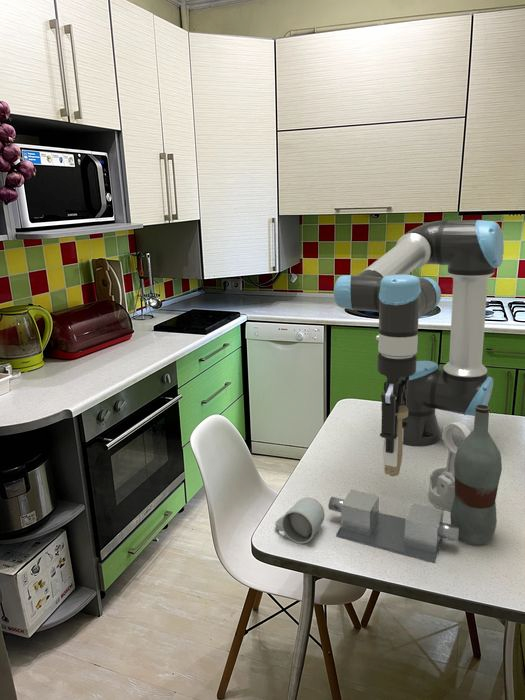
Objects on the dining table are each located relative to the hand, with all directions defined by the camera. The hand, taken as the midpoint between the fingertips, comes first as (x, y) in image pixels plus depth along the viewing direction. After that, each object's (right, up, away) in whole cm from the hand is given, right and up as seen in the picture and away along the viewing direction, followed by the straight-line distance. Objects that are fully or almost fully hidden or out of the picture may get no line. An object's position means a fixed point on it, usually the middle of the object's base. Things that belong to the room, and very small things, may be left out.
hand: (392, 459), depth 112 cm
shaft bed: (+1, -17, +5) cm, 18 cm away
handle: (0, -3, +1) cm, 3 cm away
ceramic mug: (-19, -18, +7) cm, 27 cm away
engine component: (+18, -14, +17) cm, 28 cm away
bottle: (+18, -17, +4) cm, 25 cm away
